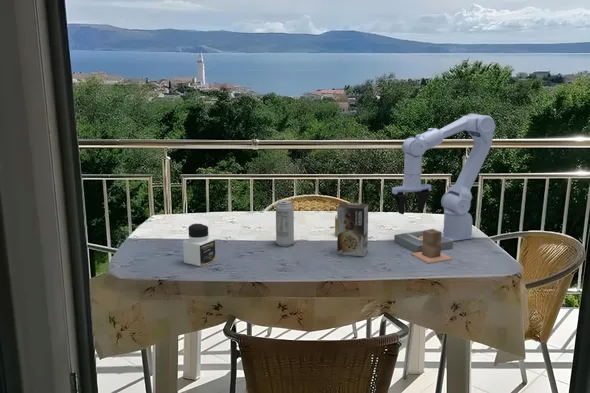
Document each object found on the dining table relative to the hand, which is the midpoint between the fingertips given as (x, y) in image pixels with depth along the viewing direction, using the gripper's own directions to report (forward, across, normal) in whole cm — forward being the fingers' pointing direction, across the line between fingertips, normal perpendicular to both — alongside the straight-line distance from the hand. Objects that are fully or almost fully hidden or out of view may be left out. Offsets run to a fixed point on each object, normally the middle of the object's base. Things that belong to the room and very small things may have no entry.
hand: (410, 212), depth 196 cm
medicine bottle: (+11, +72, -8) cm, 73 cm away
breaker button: (+10, -2, +5) cm, 11 cm away
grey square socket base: (+10, -2, +5) cm, 12 cm away
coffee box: (+11, +24, +3) cm, 26 cm away
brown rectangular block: (+10, +3, +17) cm, 20 cm away
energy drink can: (+11, +41, -14) cm, 45 cm away
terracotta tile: (+10, +3, +17) cm, 20 cm away
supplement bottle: (+11, +18, -16) cm, 26 cm away
